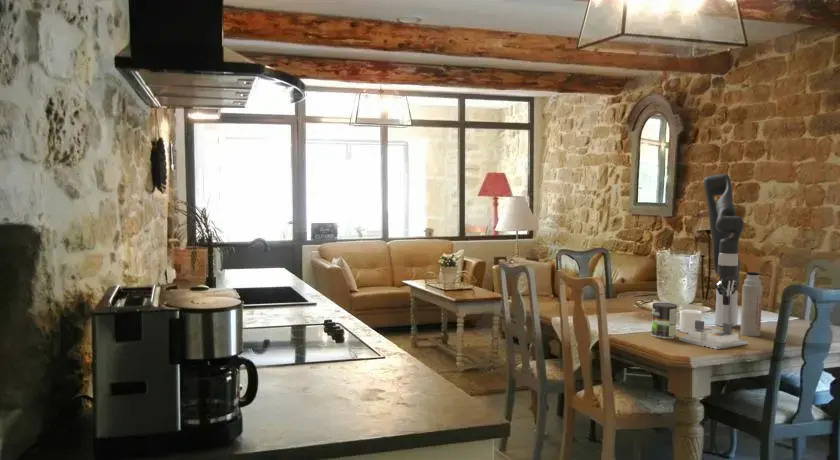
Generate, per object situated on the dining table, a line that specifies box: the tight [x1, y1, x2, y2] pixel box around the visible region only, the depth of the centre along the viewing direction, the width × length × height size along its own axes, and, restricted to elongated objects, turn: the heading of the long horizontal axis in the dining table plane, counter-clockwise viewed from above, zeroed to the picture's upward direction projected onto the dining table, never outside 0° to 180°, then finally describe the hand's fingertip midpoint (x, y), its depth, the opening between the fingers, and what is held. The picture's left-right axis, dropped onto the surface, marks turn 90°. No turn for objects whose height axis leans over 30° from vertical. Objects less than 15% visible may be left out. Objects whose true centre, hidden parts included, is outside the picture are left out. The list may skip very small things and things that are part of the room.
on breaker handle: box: [695, 320, 705, 330], centre depth 285 cm, size 2×3×4 cm, turn 30°
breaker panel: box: [678, 326, 748, 350], centre depth 283 cm, size 20×18×5 cm
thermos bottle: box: [740, 271, 763, 337], centre depth 299 cm, size 8×8×28 cm
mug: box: [676, 309, 702, 334], centre depth 305 cm, size 12×9×9 cm
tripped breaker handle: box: [722, 323, 733, 333], centre depth 281 cm, size 2×3×4 cm, turn 30°
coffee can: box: [650, 301, 678, 340], centre depth 294 cm, size 10×10×14 cm
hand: (726, 304), depth 279 cm, fingers closed
